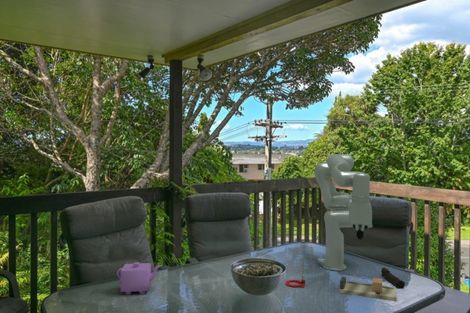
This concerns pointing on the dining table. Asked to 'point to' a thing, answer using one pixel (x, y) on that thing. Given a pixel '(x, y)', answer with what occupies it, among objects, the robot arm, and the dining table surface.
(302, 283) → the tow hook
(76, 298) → the dining table surface
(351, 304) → the dining table surface
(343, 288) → the gauge board
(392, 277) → the hand tool
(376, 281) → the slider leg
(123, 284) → the teapot
